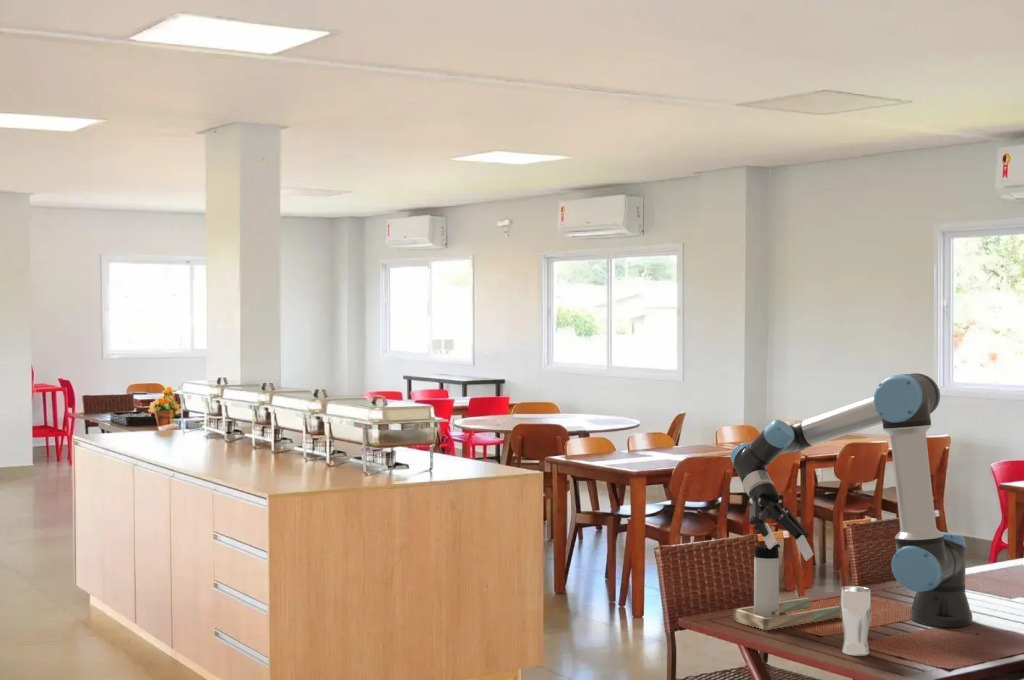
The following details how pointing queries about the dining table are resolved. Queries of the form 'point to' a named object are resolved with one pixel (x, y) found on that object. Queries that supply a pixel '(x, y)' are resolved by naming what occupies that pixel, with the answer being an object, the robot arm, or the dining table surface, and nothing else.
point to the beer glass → (855, 619)
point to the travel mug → (766, 581)
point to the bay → (763, 623)
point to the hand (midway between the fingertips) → (791, 551)
